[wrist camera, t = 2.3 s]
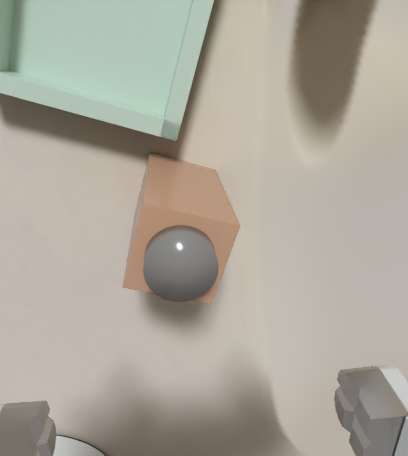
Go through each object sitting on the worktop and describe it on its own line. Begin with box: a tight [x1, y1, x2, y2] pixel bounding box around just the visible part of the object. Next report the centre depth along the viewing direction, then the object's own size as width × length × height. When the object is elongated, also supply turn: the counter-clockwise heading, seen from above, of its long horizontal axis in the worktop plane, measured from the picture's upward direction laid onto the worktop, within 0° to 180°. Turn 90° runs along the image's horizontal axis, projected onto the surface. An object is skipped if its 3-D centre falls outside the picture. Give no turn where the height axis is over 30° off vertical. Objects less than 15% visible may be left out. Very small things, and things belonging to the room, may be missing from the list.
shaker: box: [123, 153, 240, 304], centre depth 21 cm, size 5×5×10 cm
